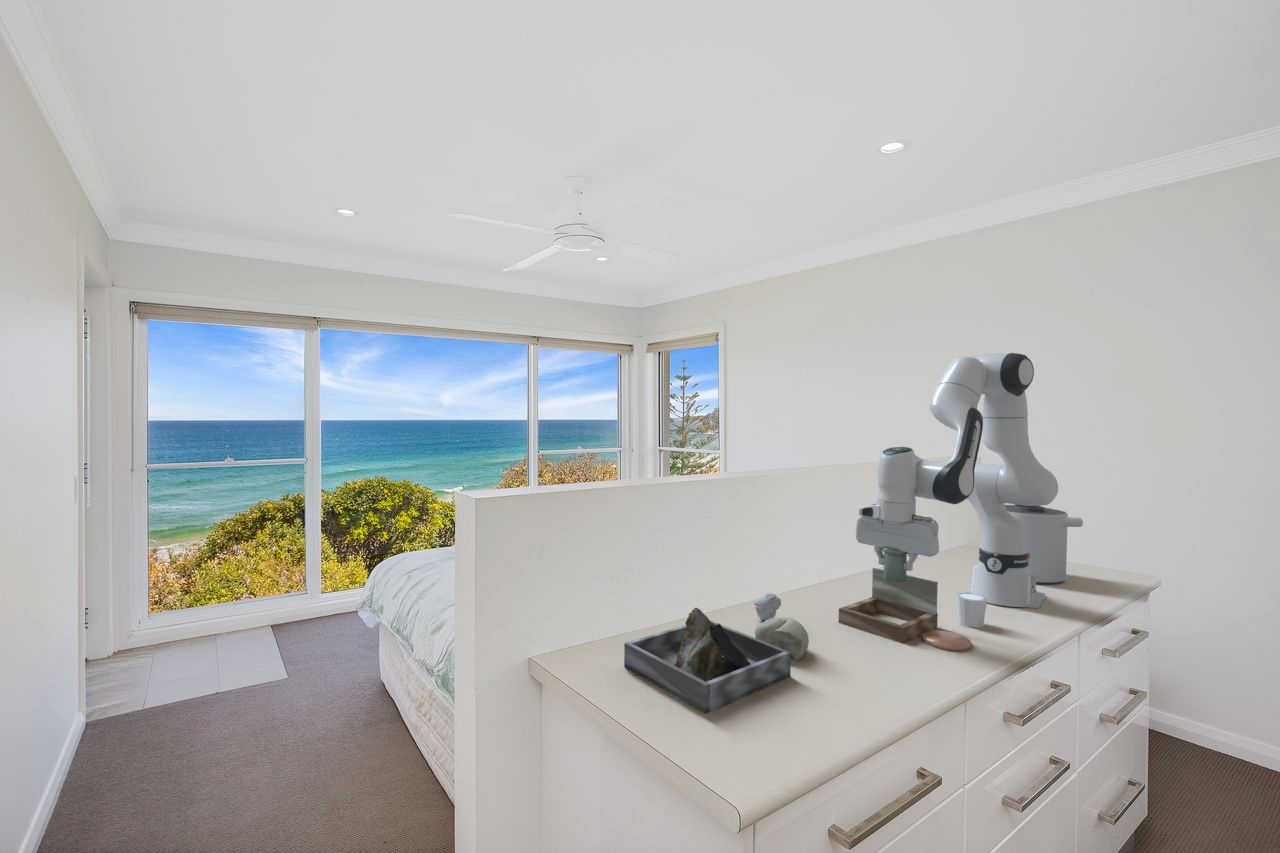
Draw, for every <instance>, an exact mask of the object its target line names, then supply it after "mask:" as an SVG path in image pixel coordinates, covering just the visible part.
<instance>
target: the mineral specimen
mask: <svg viewBox="0 0 1280 853" xmlns="http://www.w3.org/2000/svg"><path fill="white" fill-rule="evenodd" d="M711 621H712V620H711ZM711 621H710V619H709V617H708V616H707V615H705V614H704V612H703V611H702V610H701V609H700V608H697V607H694V608H693V609H692V610H691V612H689V613H688V617H687V619H686V621H685V622H684V623H685V625H686V631H687V632H686V633H685V635H684V637H683V642H682V644H681V651H679V654H678V655H677V657H676V658H677V660H676V662H675V664H674V666H676V667H678V668H680V669H682V670H684V671H686V672H688V673H690V674H692V675H694V676H696V677H697V678H699V679H701V680H703V681H705V682H707V681H710V680H712V679H715V678H718V677H720V676H723V675H725V674H728V673H731V672H733V671H736V670H738V669H741V668H743V667H746V666H749V665H751V663H750V662H749V661H748V660H747V658H746V657H745V656H744V654H743V653H742V652H741V651H740V650H739V649H738V648H737V647H736V646H735V645H734V644H733V643H732V641H731V640H730V639H729V637H728V635H726V633H725V631H724V629H723V628H722V626H721V625H722V624H721V623H720V622H717V623H718V625H717V626H716V625H715V624H713V623H712V622H711ZM720 624H721V625H720Z"/></svg>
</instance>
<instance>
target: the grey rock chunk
mask: <svg viewBox="0 0 1280 853" xmlns="http://www.w3.org/2000/svg"><path fill="white" fill-rule="evenodd" d="M753 604H754V605H755V610H756V615H757V616H758V618H759V619H761V621H766V620H768V619H770V618H775V617H776V614H777V610H778V609H780V607H781V605H782V599H781V598H780V597H779V596H777V595H776V594H775V593H773V592H772V593H771V592H767V593H765V595H763V596H759V597H757V599H755V600H754V602H753Z"/></svg>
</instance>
